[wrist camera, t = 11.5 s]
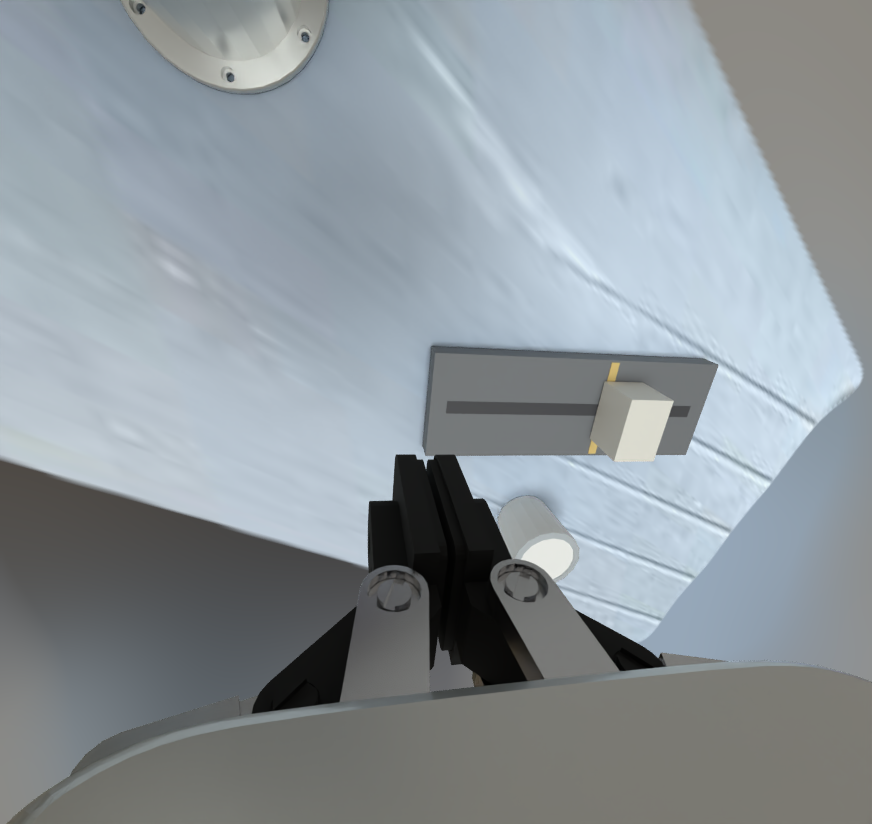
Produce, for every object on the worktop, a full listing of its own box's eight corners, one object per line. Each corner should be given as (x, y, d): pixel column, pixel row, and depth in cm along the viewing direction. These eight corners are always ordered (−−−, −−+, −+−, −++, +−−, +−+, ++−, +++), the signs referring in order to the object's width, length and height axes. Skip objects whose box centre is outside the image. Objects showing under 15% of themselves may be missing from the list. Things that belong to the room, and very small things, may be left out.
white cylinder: (513, 482, 47) (538, 524, 40) (562, 502, 49) (593, 544, 43) (481, 531, 49) (500, 578, 42) (530, 547, 51) (555, 594, 45)
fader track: (422, 445, 43) (425, 456, 41) (431, 346, 39) (435, 353, 37) (673, 445, 48) (686, 455, 46) (703, 358, 44) (719, 365, 42)
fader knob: (589, 438, 43) (613, 461, 39) (604, 381, 41) (632, 399, 37) (626, 438, 44) (653, 461, 40) (642, 382, 42) (673, 400, 38)
